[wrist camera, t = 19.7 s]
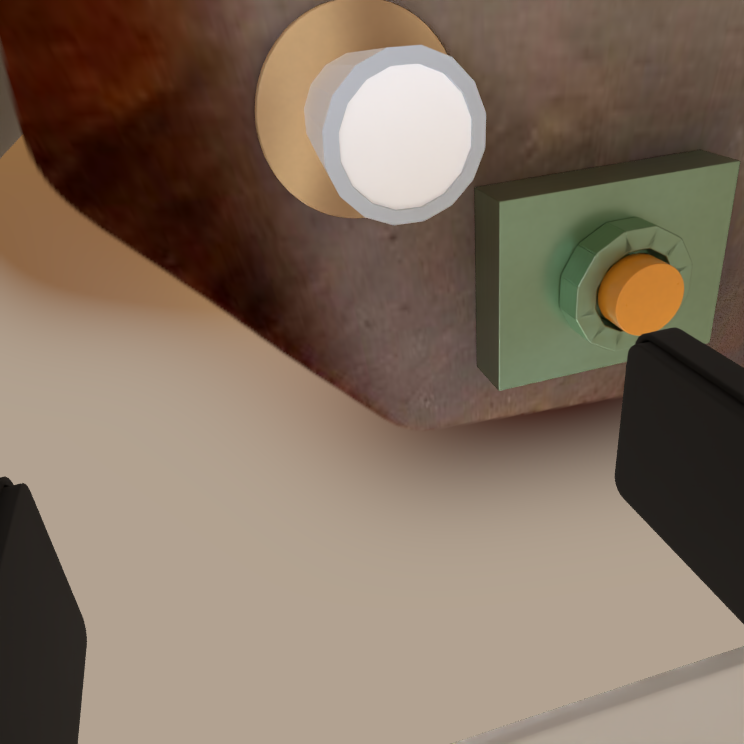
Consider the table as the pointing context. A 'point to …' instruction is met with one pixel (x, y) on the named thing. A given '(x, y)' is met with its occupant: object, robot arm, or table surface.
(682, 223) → the green rectangular block
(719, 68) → the table surface
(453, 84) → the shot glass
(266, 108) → the coaster
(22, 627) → the robot arm
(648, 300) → the button
